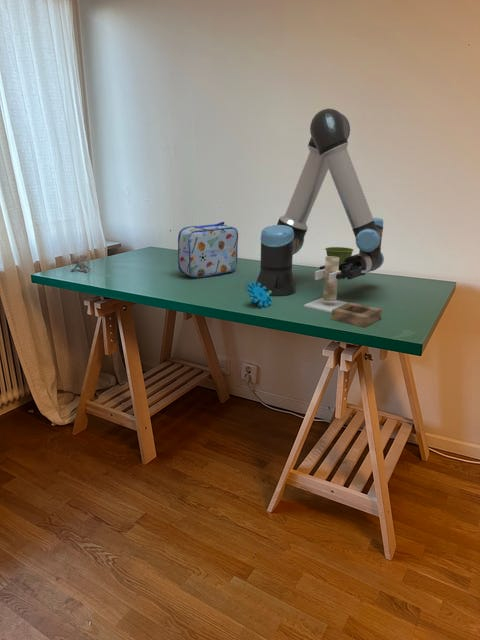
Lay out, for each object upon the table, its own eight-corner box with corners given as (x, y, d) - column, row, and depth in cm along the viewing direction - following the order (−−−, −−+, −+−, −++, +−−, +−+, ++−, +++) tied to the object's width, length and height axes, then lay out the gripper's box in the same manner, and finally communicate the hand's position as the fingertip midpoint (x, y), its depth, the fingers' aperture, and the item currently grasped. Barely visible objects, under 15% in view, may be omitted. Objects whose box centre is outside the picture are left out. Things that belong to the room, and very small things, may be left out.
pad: (303, 306, 150) (303, 304, 149) (322, 298, 158) (322, 297, 158) (335, 314, 142) (336, 312, 142) (353, 305, 151) (353, 303, 151)
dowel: (320, 299, 149) (323, 257, 145) (327, 296, 152) (329, 255, 148) (332, 301, 147) (335, 259, 142) (338, 299, 150) (341, 257, 145)
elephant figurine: (77, 275, 190) (64, 265, 194) (84, 282, 196) (70, 273, 199) (94, 258, 193) (80, 249, 196) (99, 266, 198) (86, 256, 202)
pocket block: (331, 319, 137) (332, 309, 136) (348, 311, 145) (349, 302, 144) (364, 327, 131) (365, 317, 130) (380, 318, 139) (382, 308, 138)
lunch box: (227, 267, 205) (227, 218, 198) (242, 272, 198) (242, 221, 191) (176, 276, 189) (173, 223, 182) (189, 281, 181) (188, 226, 174)
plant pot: (357, 275, 192) (359, 249, 189) (340, 279, 185) (343, 252, 181) (334, 270, 201) (336, 245, 197) (317, 274, 193) (319, 248, 189)
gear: (258, 306, 144) (244, 280, 147) (247, 316, 148) (234, 290, 151) (279, 303, 152) (266, 279, 155) (269, 313, 156) (256, 289, 159)
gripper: (379, 279, 155) (346, 293, 139) (334, 272, 166) (299, 284, 149) (381, 258, 153) (348, 269, 136) (335, 251, 164) (300, 261, 147)
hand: (322, 277), depth 143 cm, fingers closed on dowel, 4 cm apart
